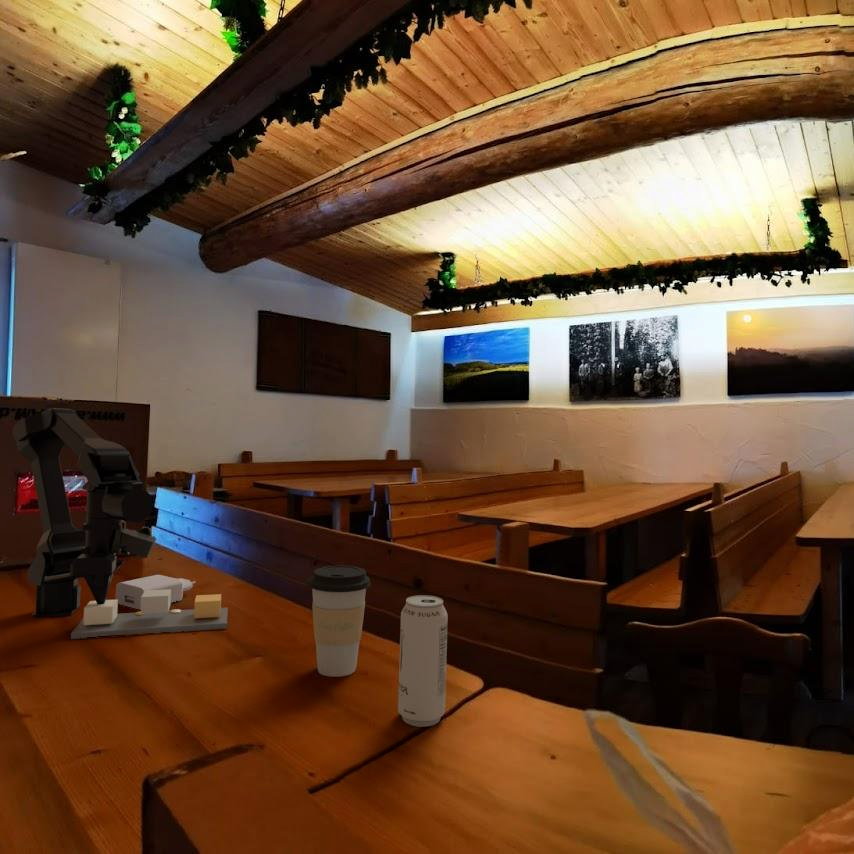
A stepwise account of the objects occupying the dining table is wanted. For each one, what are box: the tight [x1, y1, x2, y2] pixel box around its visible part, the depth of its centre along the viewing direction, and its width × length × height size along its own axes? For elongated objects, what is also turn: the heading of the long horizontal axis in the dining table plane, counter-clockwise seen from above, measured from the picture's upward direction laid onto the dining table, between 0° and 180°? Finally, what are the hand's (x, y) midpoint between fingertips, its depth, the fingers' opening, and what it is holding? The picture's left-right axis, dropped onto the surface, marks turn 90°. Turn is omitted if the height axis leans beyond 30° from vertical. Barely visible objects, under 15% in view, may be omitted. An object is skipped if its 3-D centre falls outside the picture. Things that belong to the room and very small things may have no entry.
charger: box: [115, 574, 196, 610], centre depth 125 cm, size 5×9×15 cm
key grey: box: [141, 589, 172, 614], centre depth 109 cm, size 4×4×3 cm
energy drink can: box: [397, 594, 449, 728], centre depth 76 cm, size 6×6×15 cm
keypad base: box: [70, 607, 229, 640], centre depth 109 cm, size 25×10×1 cm, turn 108°
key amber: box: [193, 593, 222, 618], centre depth 112 cm, size 4×4×3 cm
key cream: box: [83, 599, 119, 625], centre depth 106 cm, size 4×4×3 cm
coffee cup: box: [307, 565, 371, 678], centre depth 91 cm, size 9×9×15 cm
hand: (101, 603), depth 106 cm, fingers closed, pressing on key cream
